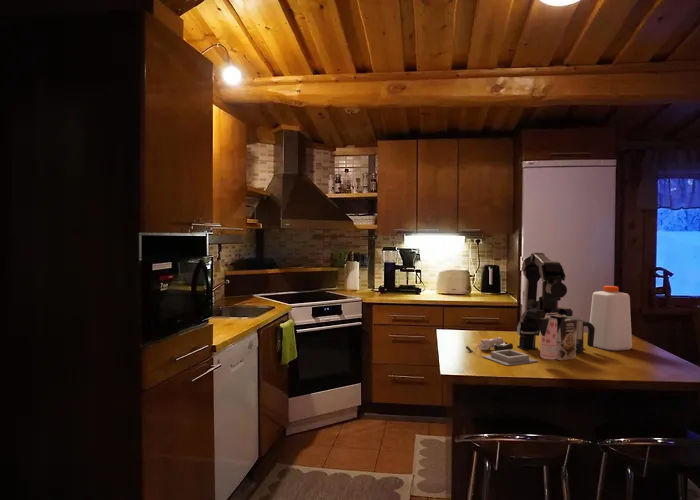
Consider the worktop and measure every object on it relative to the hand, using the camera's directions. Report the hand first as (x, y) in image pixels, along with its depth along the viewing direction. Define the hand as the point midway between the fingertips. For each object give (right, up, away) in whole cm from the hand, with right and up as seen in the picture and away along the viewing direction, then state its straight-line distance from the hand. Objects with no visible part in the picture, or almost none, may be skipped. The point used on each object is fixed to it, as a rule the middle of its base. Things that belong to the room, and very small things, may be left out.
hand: (548, 335), depth 178 cm
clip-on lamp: (-17, -12, +23) cm, 30 cm away
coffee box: (+12, -12, +15) cm, 23 cm away
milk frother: (+23, -12, +30) cm, 39 cm away
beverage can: (0, -9, 0) cm, 9 cm away
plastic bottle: (+43, -12, +36) cm, 57 cm away
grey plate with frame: (-11, -12, +11) cm, 20 cm away
